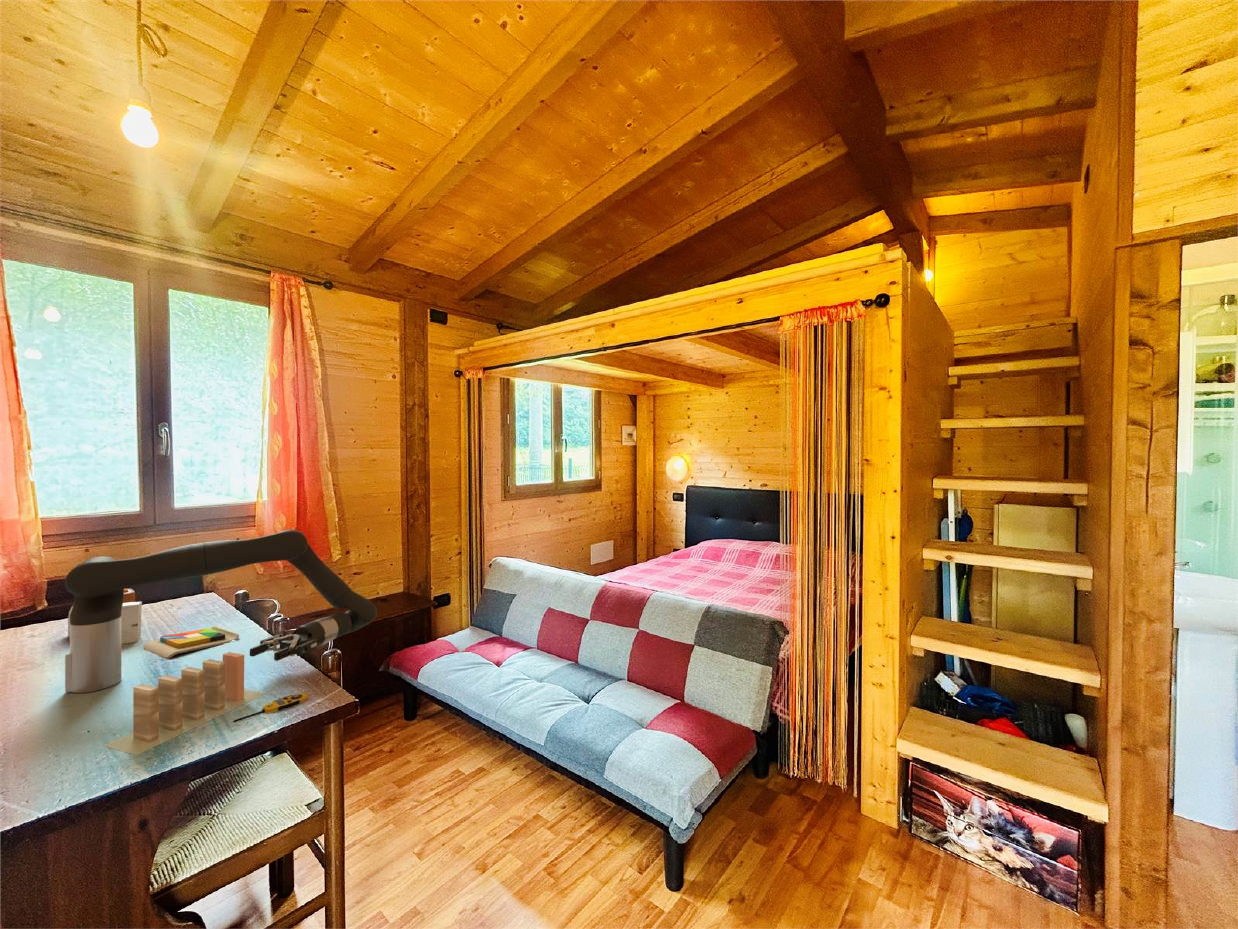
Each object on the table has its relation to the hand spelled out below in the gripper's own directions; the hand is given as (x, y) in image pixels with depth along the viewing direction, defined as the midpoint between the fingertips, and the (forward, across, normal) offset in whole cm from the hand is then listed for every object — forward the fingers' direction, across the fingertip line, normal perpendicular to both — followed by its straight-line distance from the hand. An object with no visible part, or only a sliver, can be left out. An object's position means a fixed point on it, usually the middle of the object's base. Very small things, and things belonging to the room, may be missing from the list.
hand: (262, 655), depth 129 cm
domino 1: (+26, 0, +8) cm, 27 cm away
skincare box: (-10, -70, +8) cm, 71 cm away
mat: (+16, 0, +8) cm, 19 cm away
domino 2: (+21, 0, +8) cm, 23 cm away
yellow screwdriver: (+8, +13, +9) cm, 18 cm away
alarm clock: (-12, -86, +8) cm, 88 cm away
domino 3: (+17, 0, +8) cm, 18 cm away
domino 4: (+12, 0, +8) cm, 15 cm away
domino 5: (+7, 0, +8) cm, 11 cm away
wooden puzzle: (-15, -49, +9) cm, 52 cm away
